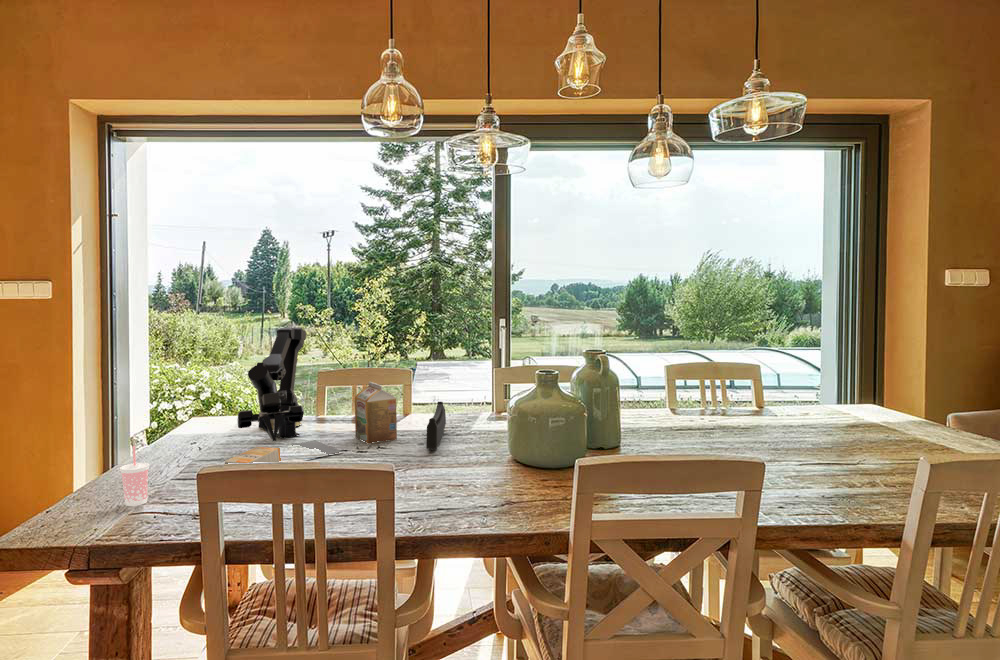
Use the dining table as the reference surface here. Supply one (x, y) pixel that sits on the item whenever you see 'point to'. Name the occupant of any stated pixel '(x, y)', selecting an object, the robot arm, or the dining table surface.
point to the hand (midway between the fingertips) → (274, 440)
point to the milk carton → (375, 414)
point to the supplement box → (257, 456)
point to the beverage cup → (135, 482)
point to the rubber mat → (319, 447)
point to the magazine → (436, 427)
